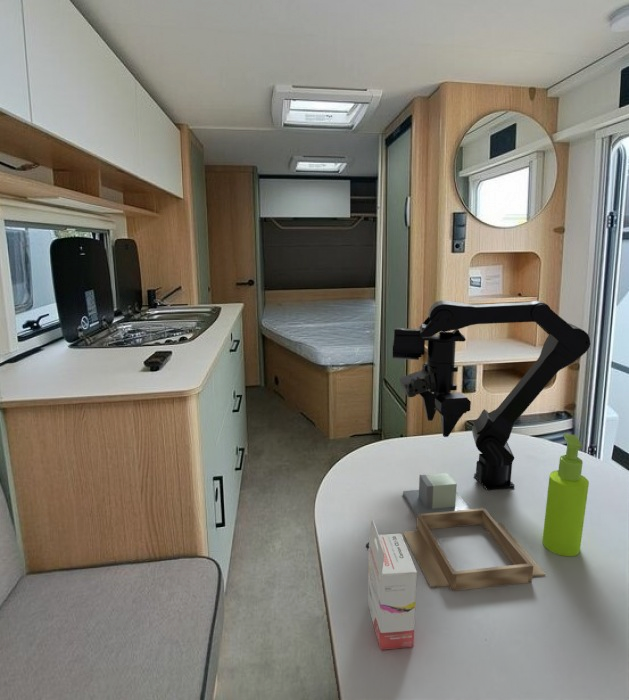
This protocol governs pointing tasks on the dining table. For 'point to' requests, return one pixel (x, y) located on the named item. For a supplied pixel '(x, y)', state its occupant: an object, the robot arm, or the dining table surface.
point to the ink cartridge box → (391, 590)
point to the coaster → (419, 508)
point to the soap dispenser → (566, 503)
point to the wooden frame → (444, 574)
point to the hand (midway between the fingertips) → (437, 428)
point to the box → (437, 490)
